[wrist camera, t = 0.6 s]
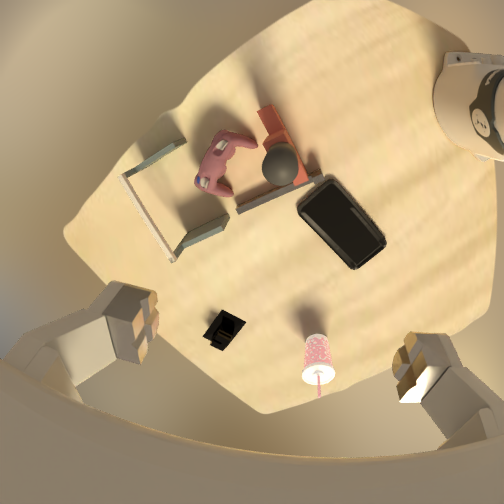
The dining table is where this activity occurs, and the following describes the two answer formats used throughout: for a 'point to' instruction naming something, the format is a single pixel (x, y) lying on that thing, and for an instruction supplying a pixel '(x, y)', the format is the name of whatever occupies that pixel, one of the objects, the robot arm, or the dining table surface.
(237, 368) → the dining table surface
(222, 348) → the black piece
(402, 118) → the dining table surface
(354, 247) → the phone
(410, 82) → the dining table surface
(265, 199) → the rail
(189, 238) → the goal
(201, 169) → the video game controller
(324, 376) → the beverage cup
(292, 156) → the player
